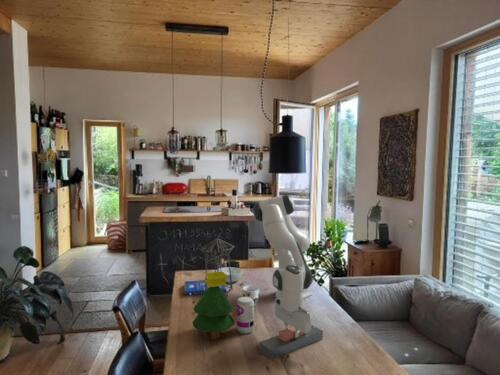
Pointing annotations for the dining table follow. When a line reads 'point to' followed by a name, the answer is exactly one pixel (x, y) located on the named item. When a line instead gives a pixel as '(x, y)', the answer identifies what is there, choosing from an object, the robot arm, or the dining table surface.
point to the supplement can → (245, 315)
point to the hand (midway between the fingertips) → (292, 334)
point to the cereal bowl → (232, 274)
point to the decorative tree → (213, 307)
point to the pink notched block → (288, 334)
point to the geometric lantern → (218, 258)
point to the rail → (289, 343)
